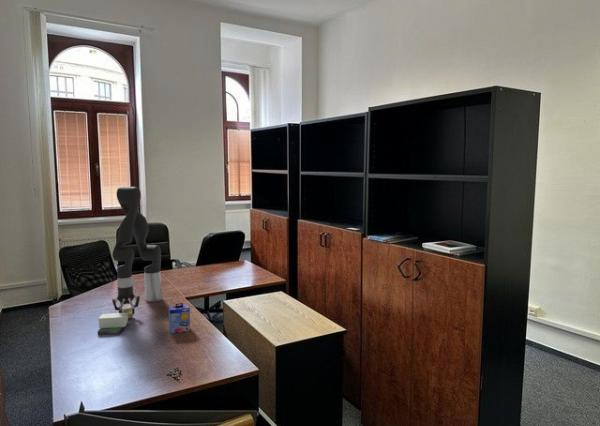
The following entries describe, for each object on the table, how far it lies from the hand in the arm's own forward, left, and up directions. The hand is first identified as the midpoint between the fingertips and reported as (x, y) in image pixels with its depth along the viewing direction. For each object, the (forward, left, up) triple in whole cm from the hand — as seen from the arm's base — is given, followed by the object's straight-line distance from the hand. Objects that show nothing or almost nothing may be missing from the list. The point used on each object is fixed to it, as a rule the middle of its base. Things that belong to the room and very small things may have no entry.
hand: (126, 315), depth 225 cm
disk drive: (+8, +12, -2) cm, 14 cm away
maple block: (0, 0, 0) cm, 0 cm away
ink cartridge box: (-21, +29, -2) cm, 36 cm away
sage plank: (+8, +12, +1) cm, 14 cm away
